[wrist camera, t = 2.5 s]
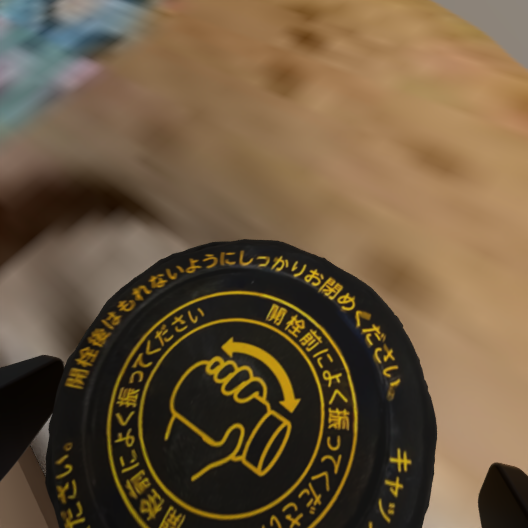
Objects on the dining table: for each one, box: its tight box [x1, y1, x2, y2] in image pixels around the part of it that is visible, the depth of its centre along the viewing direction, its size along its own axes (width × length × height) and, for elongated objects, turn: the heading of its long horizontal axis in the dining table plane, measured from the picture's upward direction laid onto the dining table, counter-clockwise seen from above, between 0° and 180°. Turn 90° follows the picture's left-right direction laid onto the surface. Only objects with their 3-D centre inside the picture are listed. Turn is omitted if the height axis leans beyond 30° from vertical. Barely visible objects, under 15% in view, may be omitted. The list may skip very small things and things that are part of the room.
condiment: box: [45, 239, 437, 528], centre depth 11 cm, size 7×8×12 cm
